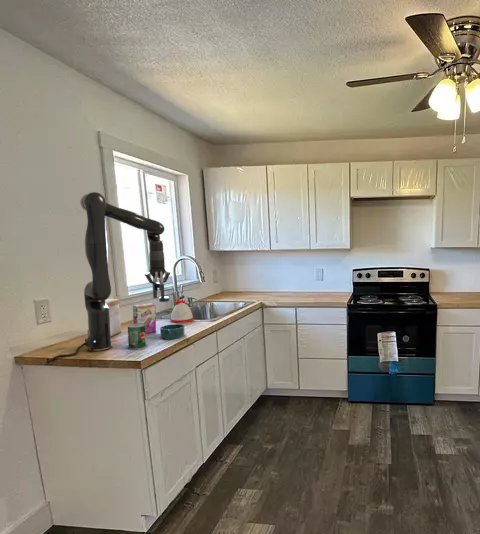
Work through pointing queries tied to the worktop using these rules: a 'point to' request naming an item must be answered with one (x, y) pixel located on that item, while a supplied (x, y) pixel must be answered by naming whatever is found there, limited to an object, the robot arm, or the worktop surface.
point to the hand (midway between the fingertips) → (158, 290)
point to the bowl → (172, 331)
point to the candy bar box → (145, 316)
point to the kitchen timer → (181, 312)
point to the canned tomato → (136, 336)
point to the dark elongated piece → (162, 298)
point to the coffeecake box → (114, 315)
